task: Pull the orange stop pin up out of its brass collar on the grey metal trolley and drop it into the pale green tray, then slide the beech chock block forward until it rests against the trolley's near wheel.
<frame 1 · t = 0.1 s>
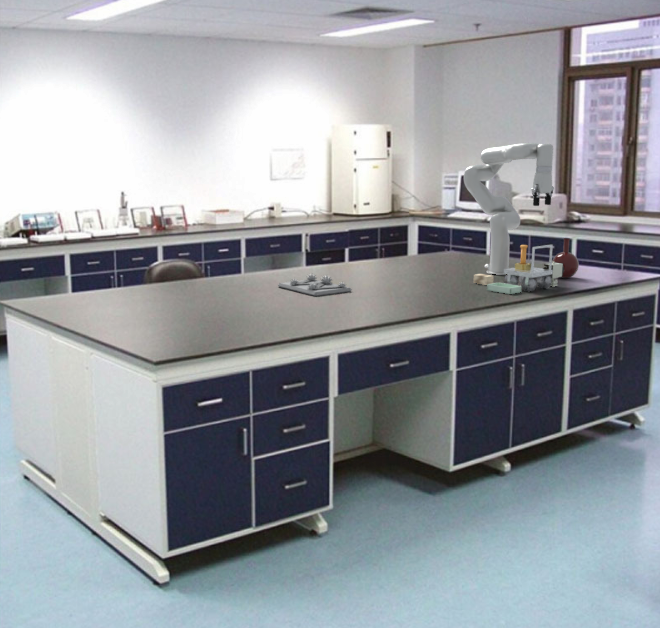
hand: (541, 205, 431), 37 cm above the countertop, tool pointing down, fingers open, 9 cm apart
stop pin: (522, 268, 413), point 9 cm above the countertop, touching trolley
decorative plate: (314, 291, 406), on the countertop
round-bottom flask: (564, 278, 443), on the countertop
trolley: (527, 288, 413), on the countertop
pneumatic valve: (551, 286, 419), on the countertop
tray: (504, 291, 404), on the countertop
chock: (483, 284, 424), on the countertop
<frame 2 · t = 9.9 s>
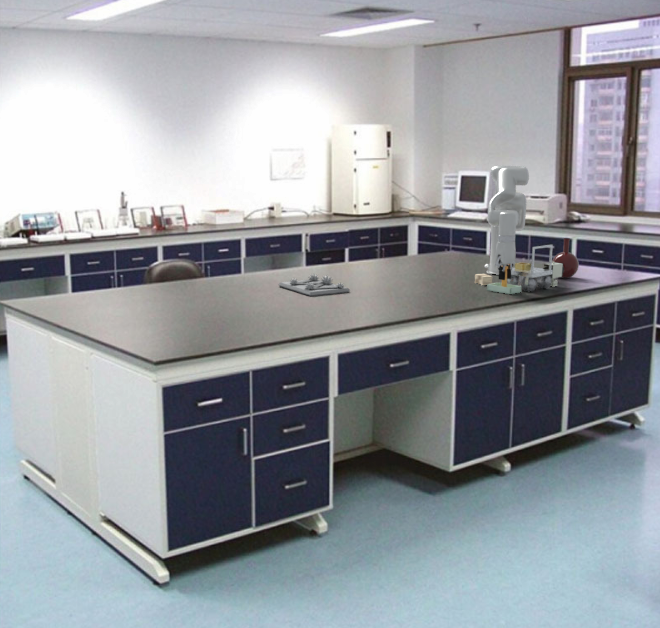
hand: (504, 278, 403), 6 cm above the countertop, tool pointing down, fingers open, 3 cm apart
stop pin: (504, 290, 404), point 1 cm above the countertop, touching gripper
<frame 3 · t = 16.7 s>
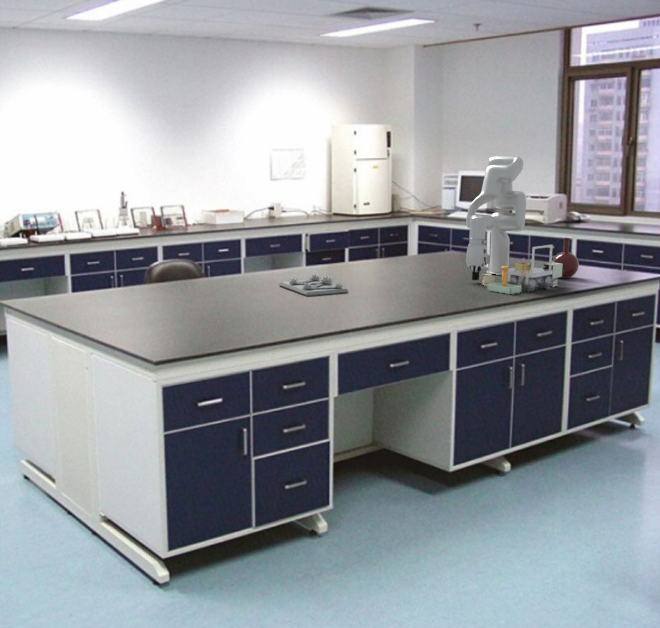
hand: (475, 279, 427), 2 cm above the countertop, tool pointing down, fingers closed
stop pin: (503, 290, 404), point 1 cm above the countertop, touching tray
chock: (487, 284, 422), on the countertop, touching gripper
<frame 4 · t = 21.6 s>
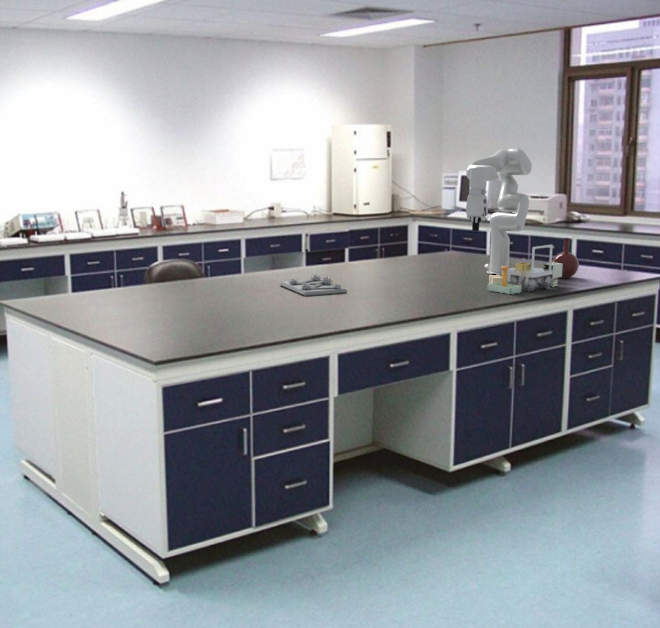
hand: (475, 230, 423), 25 cm above the countertop, tool pointing down, fingers closed
chock: (495, 285, 420), on the countertop
at the end: stop pin inside the target area on the tray (0.1 cm from its centre), point 0.6 cm above the tray's base; stop pin touching tray; chock 2.5 cm from the target spot on the countertop beside the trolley, on the countertop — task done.
